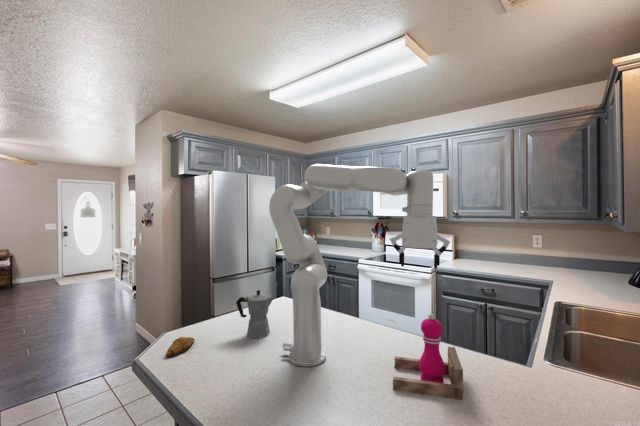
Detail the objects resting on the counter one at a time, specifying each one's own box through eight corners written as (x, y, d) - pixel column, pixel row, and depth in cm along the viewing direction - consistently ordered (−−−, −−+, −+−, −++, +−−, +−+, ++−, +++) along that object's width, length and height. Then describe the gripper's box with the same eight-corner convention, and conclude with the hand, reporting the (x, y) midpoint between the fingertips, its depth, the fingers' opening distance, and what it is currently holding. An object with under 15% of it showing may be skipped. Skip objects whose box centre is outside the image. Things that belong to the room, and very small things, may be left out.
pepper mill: (447, 390, 84) (447, 318, 84) (420, 387, 86) (420, 317, 86) (442, 376, 91) (442, 310, 91) (417, 374, 93) (417, 309, 93)
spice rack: (392, 389, 85) (392, 361, 85) (394, 365, 98) (394, 340, 98) (463, 400, 80) (462, 369, 80) (454, 373, 93) (454, 347, 93)
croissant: (176, 360, 103) (176, 345, 103) (159, 358, 105) (159, 343, 105) (201, 343, 116) (201, 330, 116) (186, 342, 118) (186, 329, 118)
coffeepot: (273, 328, 131) (273, 286, 131) (275, 337, 122) (275, 292, 122) (237, 331, 128) (236, 288, 128) (235, 340, 118) (235, 294, 118)
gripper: (390, 210, 92) (389, 267, 92) (451, 211, 87) (450, 271, 87) (391, 211, 99) (391, 263, 99) (448, 211, 94) (447, 266, 94)
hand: (418, 266), depth 93 cm, fingers open, 9 cm apart
